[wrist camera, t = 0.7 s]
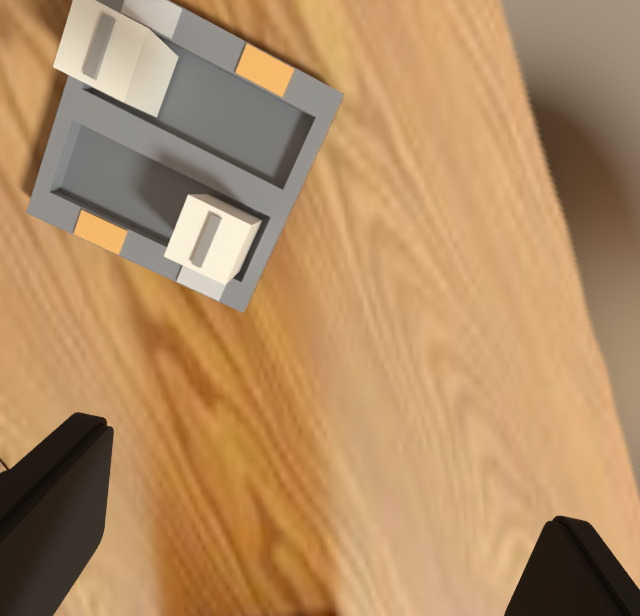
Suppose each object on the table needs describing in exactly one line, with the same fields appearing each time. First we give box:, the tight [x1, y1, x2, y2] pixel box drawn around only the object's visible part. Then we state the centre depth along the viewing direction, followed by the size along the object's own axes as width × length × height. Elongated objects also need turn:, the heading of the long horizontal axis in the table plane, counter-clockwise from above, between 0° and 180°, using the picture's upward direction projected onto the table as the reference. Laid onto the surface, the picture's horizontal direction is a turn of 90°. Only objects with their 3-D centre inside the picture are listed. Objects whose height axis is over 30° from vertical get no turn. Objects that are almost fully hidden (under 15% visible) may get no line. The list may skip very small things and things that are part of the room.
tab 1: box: [53, 0, 178, 117], centre depth 25 cm, size 4×4×5 cm
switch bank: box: [26, 0, 344, 313], centre depth 29 cm, size 16×16×2 cm
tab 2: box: [164, 194, 262, 285], centre depth 28 cm, size 4×4×5 cm
